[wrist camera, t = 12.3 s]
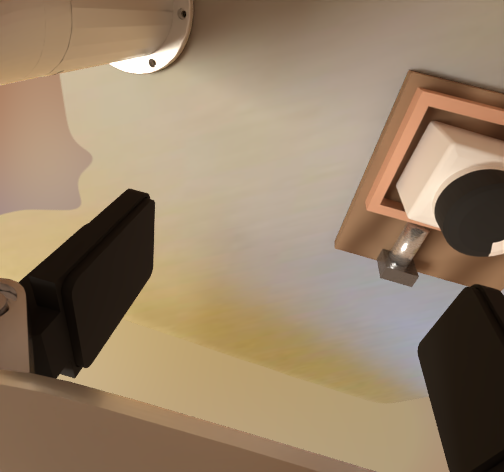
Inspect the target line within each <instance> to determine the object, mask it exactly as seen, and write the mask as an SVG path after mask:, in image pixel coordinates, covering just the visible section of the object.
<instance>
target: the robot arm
mask: <svg viewBox="0 0 504 472" xmlns="http://www.w3.org/2000/svg"><path fill="white" fill-rule="evenodd" d="M184 11H185V12H186V17H184V16H183V12H184ZM192 20H193V0H0V86H1V85H5V84H10V83H14V82H19V81H24V80H29V79H34V78H39V77H45V76H51V75H55V74H60V73H65V72H70V71H75V70H79V69H84V68H89V67H94V66H99V65H104V64H110V65H112V66H113V67H115V68H117V69H119V70H122V71H124V72H127V73H133V74H149V73H153V72H157V71H159V70H161V69H163V68H166V67H167V66H169V65H170V64H171V63H172V62H174V61H175V60H176V58H177V57H178V56H179V55H180V53H181V52H182V51H183V49H184V47H185V45H186V43H187V41H188V38H189V35H190V31H191V28H192ZM154 61H156V64H157V65H156V64H155V63H154ZM154 219H155V202H154V200H151V199H150V196H149V194H148V193H144V192H140V191H137V190H133V189H128V190H126V191H125V192H124V193H123V194H121V195H120V196H119V197H118V198H117V199H116V200H115V201H113V202H112V203H111V204H110V205H109V206H108V207H107V208H105V209H104V210H103V211H102V212H101V213H100V214H99V215H98V216H96V217H95V218H94V219H93V220H92V221H91V222H90V223H88V224H86V225H84V226H83V227H82V228H81V229H79V230H78V231H77V232H76V233H75V234H74V235H73V236H71V237H70V238H69V239H68V240H67V241H66V242H65V243H63V244H62V245H61V246H60V247H59V248H58V249H56V250H55V251H54V252H53V253H52V254H51V255H50V256H48V257H47V258H46V259H45V260H44V261H43V262H41V263H40V264H39V265H38V266H37V267H36V268H35V269H33V270H32V271H31V272H30V273H29V274H28V275H27V276H25V277H24V278H23V279H22V280H21V281H20V282H16V281H13V280H10V279H4V278H0V472H376V471H373V470H369V469H366V468H363V467H359V466H356V465H352V464H349V463H346V462H343V461H339V460H336V459H333V458H329V457H326V456H323V455H319V454H316V453H312V452H309V451H306V450H303V449H299V448H296V447H292V446H289V445H286V444H283V443H279V442H276V441H273V440H269V439H266V438H262V437H259V436H256V435H253V434H249V433H246V432H242V431H239V430H236V429H232V428H229V427H226V426H222V425H219V424H216V423H212V422H209V421H205V420H202V419H198V418H195V417H192V416H188V415H185V414H182V413H178V412H175V411H171V410H168V409H164V408H161V407H158V406H154V405H151V404H148V403H144V402H141V401H137V400H134V399H130V398H126V397H123V396H119V395H116V394H112V393H108V392H105V391H101V390H97V389H94V388H90V387H87V386H83V385H79V384H76V383H72V382H68V381H63V380H59V379H56V378H57V377H58V376H59V374H62V375H65V376H69V377H72V378H76V376H77V375H78V373H79V372H80V370H81V369H82V367H84V368H88V367H89V366H90V365H91V364H92V363H93V361H94V360H95V358H96V357H97V355H98V354H99V352H100V351H101V349H102V348H103V346H104V345H105V343H106V342H107V340H108V339H109V337H110V336H111V334H112V333H113V331H114V330H115V328H116V327H117V325H118V324H119V323H120V321H121V320H122V318H123V317H124V315H125V314H126V312H127V311H128V309H129V308H130V306H131V305H132V303H133V302H134V300H135V299H136V297H137V296H138V294H139V293H140V291H141V290H142V288H143V287H144V285H145V284H146V282H147V281H148V279H149V278H150V276H151V274H152V270H153V254H154ZM418 357H419V360H420V364H421V368H422V372H423V375H424V379H425V383H426V386H427V390H428V394H429V398H430V401H431V405H432V409H433V412H434V416H435V420H436V423H437V427H438V431H439V435H440V438H441V442H442V446H443V449H444V453H445V457H446V460H447V464H448V468H449V471H450V472H504V295H503V294H502V293H501V291H500V290H498V289H495V288H491V287H487V286H484V285H480V284H474V285H472V286H471V287H466V288H464V289H463V290H462V291H461V293H460V294H459V295H458V296H457V297H456V299H455V300H454V301H453V302H452V304H451V305H450V306H449V307H448V309H447V310H446V311H445V312H444V314H443V315H442V316H441V317H440V318H439V320H438V321H437V322H436V323H435V325H434V326H433V327H432V328H431V330H430V331H429V332H428V333H427V335H426V336H425V337H424V338H423V339H422V341H421V342H420V344H419V346H418Z"/></svg>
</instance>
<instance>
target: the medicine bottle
mask: <svg viewBox="0 0 504 472" xmlns="http://www.w3.org/2000/svg"><path fill="white" fill-rule="evenodd" d="M396 187H397V190H398V193H399V196H400V198H401V201H402V204H403V206H404V209H405V212H406V214H407V217H408V218H409V219H411V220H414V221H417V222H421V223H424V224H427V225H430V226H434V227H437V228H440V230H441V232H442V234H443V236H444V238H445V239H446V241H447V243H448V244H449V245H450V246H451V247H452V248H453V249H455V250H456V251H458V252H460V253H462V254H465V255H469V256H475V257H489V256H496V255H500V254H504V141H502V140H499V139H495V138H492V137H489V136H485V135H482V134H478V133H475V132H471V131H468V130H465V129H461V128H458V127H454V126H451V125H448V124H444V123H441V122H437V121H431V122H430V123H429V125H428V126H427V128H426V130H425V132H424V134H423V136H422V137H421V139H420V141H419V143H418V145H417V147H416V149H415V150H414V152H413V154H412V156H411V158H410V160H409V161H408V163H407V165H406V167H405V169H404V171H403V172H402V174H401V176H400V178H399V180H398V182H397V183H396Z"/></svg>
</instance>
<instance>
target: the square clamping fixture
mask: <svg viewBox="0 0 504 472" xmlns="http://www.w3.org/2000/svg"><path fill="white" fill-rule="evenodd" d="M431 121H437V122H441V123H444V124H448V125H451V126H454V127H458V128H461V129H465V130H468V131H471V132H475V133H478V134H482V135H485V136H489V137H492V138H495V139H499V140H502V141H504V94H502V93H498V92H494V91H490V90H486V89H482V88H478V87H475V86H471V85H467V84H463V83H459V82H455V81H451V80H447V79H443V78H439V77H435V76H431V75H427V74H423V73H419V72H415V71H411V70H409V71H408V73H407V76H406V78H405V80H404V82H403V85H402V87H401V89H400V92H399V94H398V96H397V99H396V101H395V103H394V106H393V108H392V110H391V112H390V115H389V117H388V119H387V122H386V124H385V126H384V129H383V131H382V133H381V136H380V138H379V140H378V143H377V145H376V147H375V149H374V152H373V154H372V156H371V159H370V161H369V163H368V166H367V168H366V170H365V173H364V175H363V177H362V179H361V182H360V184H359V186H358V189H357V191H356V193H355V196H354V198H353V200H352V203H351V205H350V207H349V209H348V212H347V214H346V216H345V219H344V221H343V223H342V226H341V228H340V230H339V233H338V235H337V237H336V240H335V248H336V249H339V250H343V251H346V252H350V253H353V254H357V255H360V256H364V257H367V258H371V259H374V260H377V262H378V268H379V273H380V278H383V279H386V280H389V281H393V282H396V283H400V284H403V285H407V286H410V287H412V286H413V284H414V283H415V282H416V280H417V279H418V277H419V276H418V273H417V272H420V273H423V274H427V275H430V276H434V277H437V278H441V279H444V280H448V281H451V282H455V283H458V284H462V285H465V286H469V287H471V286H472V285H474V284H480V285H484V286H487V287H491V288H495V289H498V290H500V291H501V290H502V289H503V288H504V254H500V255H496V256H489V257H475V256H469V255H465V254H462V253H460V252H458V251H456V250H455V249H453V248H452V247H451V246H450V245H449V244H448V243H447V241H446V239H445V238H444V236H443V234H442V232H441V230H440V228H437V227H434V226H430V225H427V224H424V223H421V222H417V221H414V220H411V219H409V218H408V217H407V214H406V212H405V209H404V206H403V204H402V201H401V198H400V196H399V193H398V190H397V187H396V183H397V182H398V180H399V178H400V176H401V174H402V172H403V171H404V169H405V167H406V165H407V163H408V161H409V160H410V158H411V156H412V154H413V152H414V150H415V149H416V147H417V145H418V143H419V141H420V139H421V137H422V136H423V134H424V132H425V130H426V128H427V126H428V125H429V123H430V122H431Z"/></svg>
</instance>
